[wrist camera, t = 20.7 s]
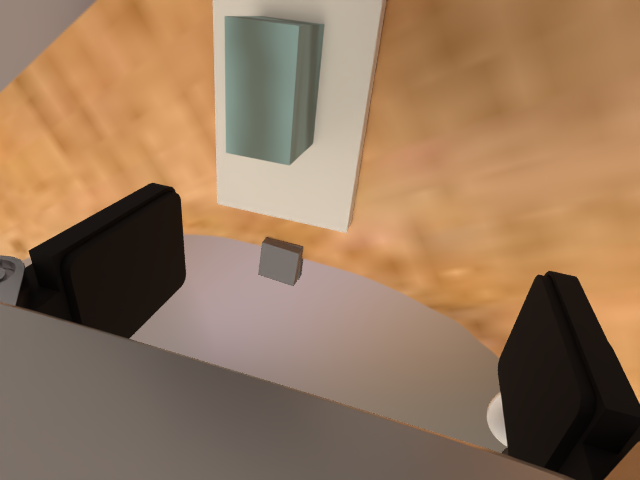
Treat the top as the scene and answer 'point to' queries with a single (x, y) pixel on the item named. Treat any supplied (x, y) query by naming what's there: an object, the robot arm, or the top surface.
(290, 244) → the chip
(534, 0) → the top surface
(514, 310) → the top surface
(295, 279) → the chip
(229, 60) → the block
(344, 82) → the board
